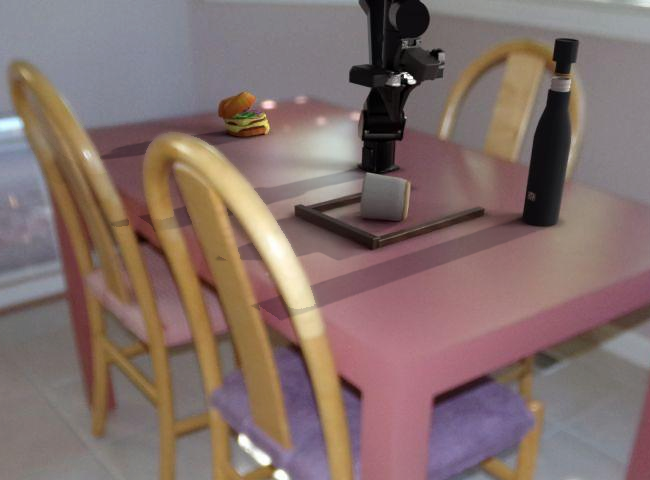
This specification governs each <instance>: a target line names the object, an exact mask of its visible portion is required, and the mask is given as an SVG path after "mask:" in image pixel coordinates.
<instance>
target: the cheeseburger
mask: <svg viewBox="0 0 650 480" xmlns="http://www.w3.org/2000/svg"><path fill="white" fill-rule="evenodd" d="M257 100H258V99H257V98H256V97H255V96H254V95H253V94H251V93H249V92H246V91H242V92H240V93H238V94H236V95H233V96H229V97H226V98H224V99H222V100H220V102H219V104H218V109H217V115H218V117H219V118H221V119H223V121H224V124H225V127H226V129H227V131H228V133H229V134H230V135H232V136H235V137H238V138H240V137H241V138H242V137H243V138H244V137H245V138H246V137H253V136H255V135H263V134H264V135H267V134H268V133H269V131H270V124H269V122H268V118H267V115H266V113H264V112H263V111H262V110H260V109H254V110H253V109H252V107H253V105H254V104H255V103H256V102H257ZM251 109H252V110H251Z"/></svg>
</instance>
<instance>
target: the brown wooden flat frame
mask: <svg viewBox="0 0 650 480" xmlns="http://www.w3.org/2000/svg"><path fill="white" fill-rule="evenodd" d="M409 182H410V184H411V185H413V184H412V182H411V181H409ZM411 189H412V186H411V187H410V190H411ZM361 195H362V191H360V192H357V193H353V194H349V195H348V194H347V195H345V196H340V197H337V198H333V199H329V200H324V201H321V202H317V203H312V204H308V205H304V204H302V203H300V204H296V205H294V206H293V207H294V216H295V217H296V218H297V217H298V218H300V219H302V220H303V221H306V222H308V223H311V224H313V225H315V226H318V227H320V228H322V229H324V230H327V231H329V232H331V233H334V234H336V235H338V236H341V237H343V238H345V239H348V240H350V241H352V242H354V243H357V244H359V245H361V246H364V247H366V248H368V249H370V250H376V249H379V248H382V247H386V246H389V245H392V244H395V243H398V242H402V241H404V240H408V239H412V238H414V237H418V236H421V235H423V234H427V233H430V232H434V231H437V230H440V229H442V228H445V227H449V226H452V225H455V224H456V225H457V224H459V223H461V222H465V221H468V220H471V219H474V218H477V217H481V216H484V215H485V210H486V208H485V207H482V206H475V207H471V208H468V209H465V210H462V211H459V212H455V213H452V214H449V215H445V216H442V217H438V218H435V219H432V220H429V221H425V222H422V223H419V224H415V225H412V226H409V227H405V228H402V229H399V230H395V231H392V232H388V233H386V234H383V235H379V236H378V235H376V234H373V233H372V232H369V231H366V230H363V229H361V228H359V227H356V226H354V225H352V224H349V223H347V222H344V221H343V220H340V219H337V218H335V217H332V216H331V215H328V214H325V213H323V212H327V211H330V210H334V209H338V208H342V207H347V206H350V205H354V204H357V203H361Z"/></svg>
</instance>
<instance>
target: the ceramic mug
mask: <svg viewBox="0 0 650 480" xmlns="http://www.w3.org/2000/svg"><path fill="white" fill-rule="evenodd" d="M410 182H411V181H409V180H408V179H405V178H402V177H396V176H389V175H384V174H376V173H373V172H365V174H364V177H363V180H362V188H361V192H362V195H361V202H360V211H359V212H360V213H359V214H360V218H361V219H369V220H380V221H381V220H382V221H383V220H384V221H391V222H393V221H394V222H401V221H405V220H406V219H407V218H408V212H409V205H410V196H411V189H410V187H411V188H412V184H410Z"/></svg>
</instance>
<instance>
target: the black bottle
mask: <svg viewBox="0 0 650 480" xmlns="http://www.w3.org/2000/svg"><path fill="white" fill-rule="evenodd" d="M579 48H580V40H579V39H575V38H567V37H558V38H555V39H554V45H553V52H552V62H555V68H554V72H553V74H554V76H552V77H551V80H550V83H551V84H550V85H549V87H550V88H548V89H547V97H546V103H545V107H544V109H543V111H542V113H541V115H540V117H539V119H538V122H537V125H536V128H535V130H534V134H533V139H532V146H531V153H530V160H529V168H528V174H527V182H526V189H525V196H524V202H523V209H522V216H521V219H522V221H523V222H525V223H526V224H530V225H533V226H538V227H551V226H555V225H557V224H558V223H559V218H560V211H561V206H562V202H563V201H562V200H563V195H564V189H565V182H566V176H567V169H568V164H569V158H570V151H571V145H572V122H571V115H570V109H569V108H570V101H571V95H572V91H571V90H570V89H571V85H572V78H570V76H571V72H572V65H573V64H575V63H577V59H578V53H579Z"/></svg>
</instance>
